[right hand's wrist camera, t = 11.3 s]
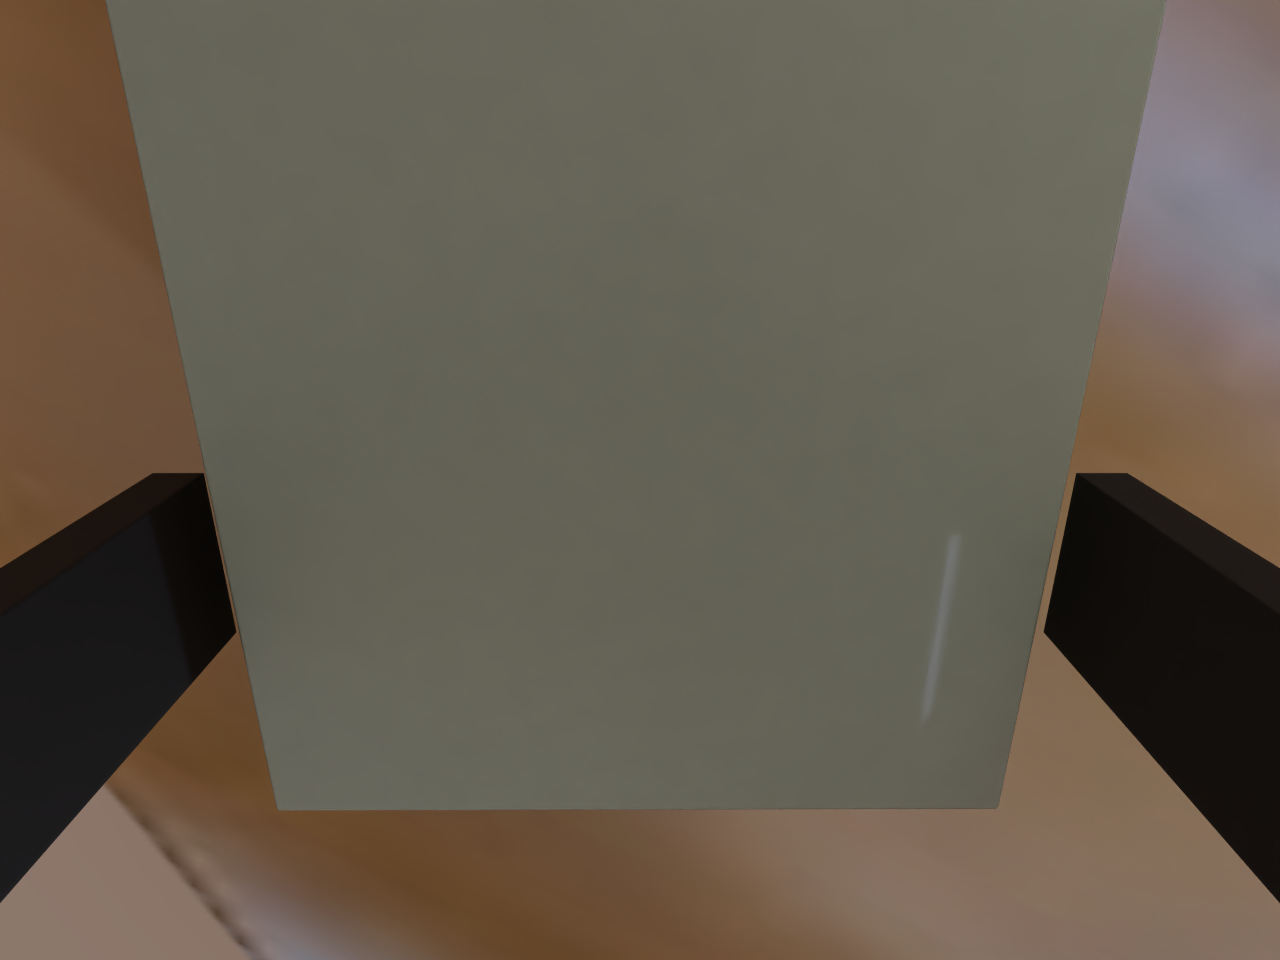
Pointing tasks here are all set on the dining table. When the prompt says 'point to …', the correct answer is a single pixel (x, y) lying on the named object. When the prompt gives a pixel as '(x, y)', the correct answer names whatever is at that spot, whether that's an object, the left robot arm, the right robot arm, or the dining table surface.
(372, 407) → the cabinet
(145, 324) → the dining table surface
